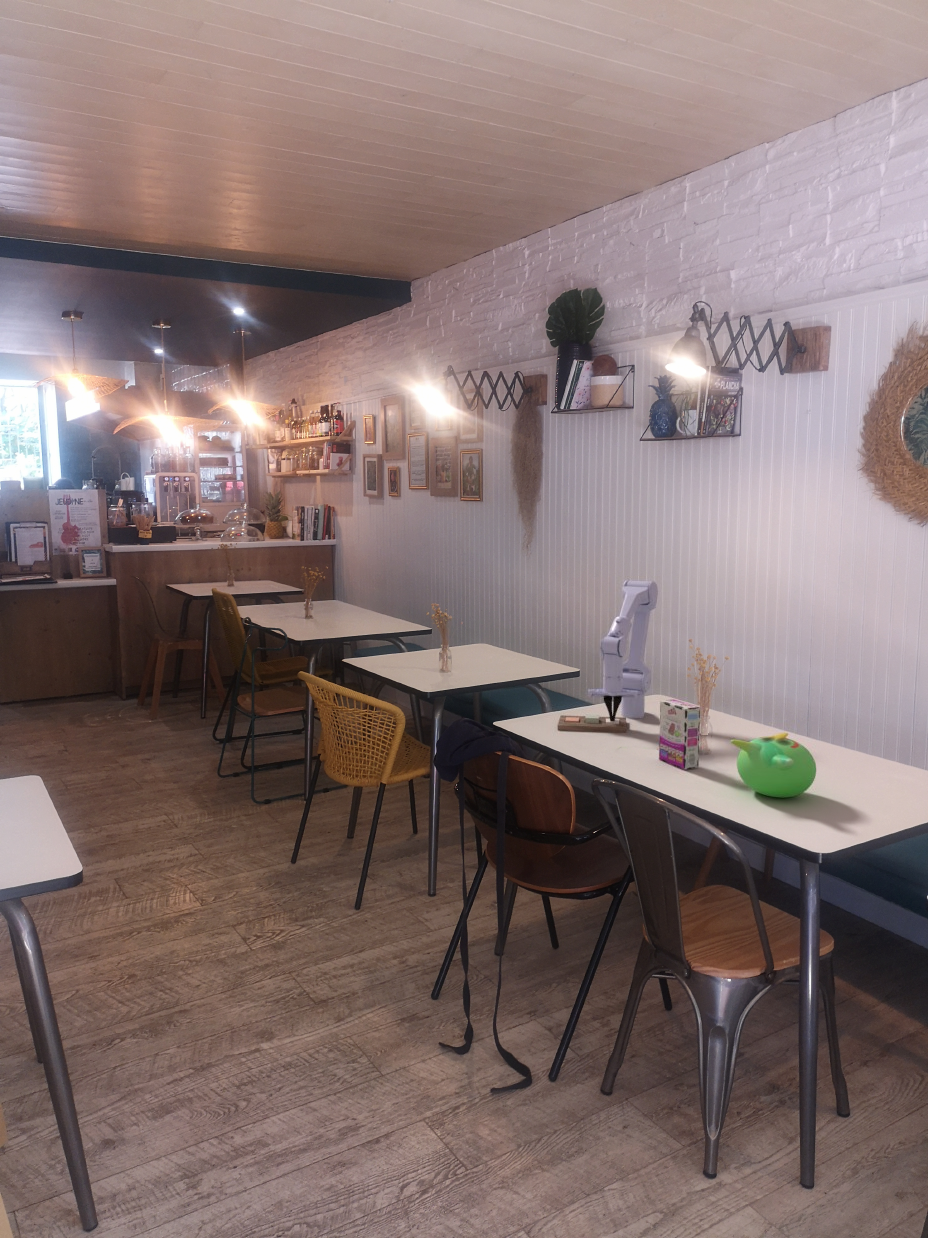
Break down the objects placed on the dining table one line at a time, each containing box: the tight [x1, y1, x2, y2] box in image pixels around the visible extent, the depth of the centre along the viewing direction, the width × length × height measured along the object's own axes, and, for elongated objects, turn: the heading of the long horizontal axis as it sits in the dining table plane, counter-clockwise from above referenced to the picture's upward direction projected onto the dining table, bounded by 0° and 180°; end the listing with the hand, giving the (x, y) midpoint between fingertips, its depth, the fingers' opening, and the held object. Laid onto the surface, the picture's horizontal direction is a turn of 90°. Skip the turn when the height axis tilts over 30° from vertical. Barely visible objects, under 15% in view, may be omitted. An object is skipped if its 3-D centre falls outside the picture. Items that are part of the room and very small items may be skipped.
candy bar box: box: [658, 699, 701, 771], centre depth 241 cm, size 11×5×16 cm, turn 25°
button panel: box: [557, 714, 627, 734], centre depth 275 cm, size 12×20×3 cm, turn 80°
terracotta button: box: [565, 717, 579, 723], centre depth 276 cm, size 4×4×3 cm
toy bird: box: [730, 732, 817, 798], centre depth 216 cm, size 18×17×15 cm
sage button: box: [585, 714, 600, 723], centre depth 275 cm, size 4×4×3 cm
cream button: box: [606, 719, 619, 724], centre depth 274 cm, size 4×4×3 cm
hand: (612, 720), depth 274 cm, fingers closed, pressing on cream button
